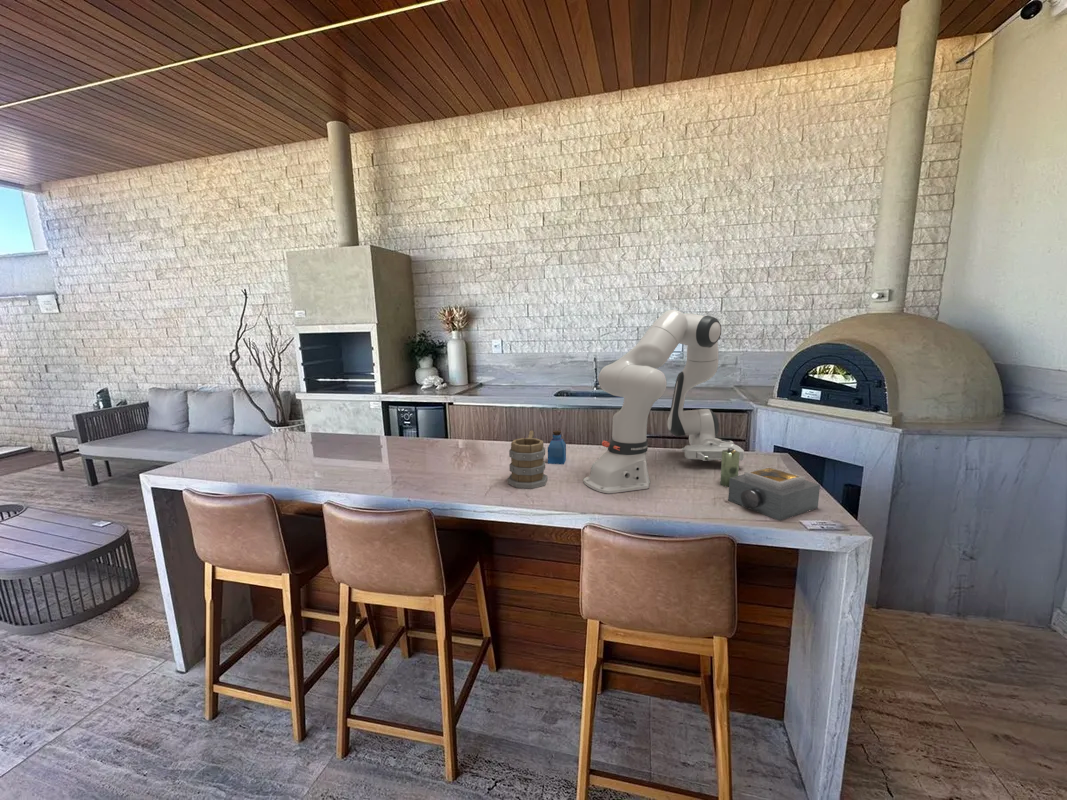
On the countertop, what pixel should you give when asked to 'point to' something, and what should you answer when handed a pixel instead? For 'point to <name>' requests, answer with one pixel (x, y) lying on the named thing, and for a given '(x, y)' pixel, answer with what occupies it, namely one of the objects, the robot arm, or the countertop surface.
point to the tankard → (527, 463)
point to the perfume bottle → (557, 449)
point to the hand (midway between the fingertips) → (719, 459)
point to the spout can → (729, 465)
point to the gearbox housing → (774, 492)
